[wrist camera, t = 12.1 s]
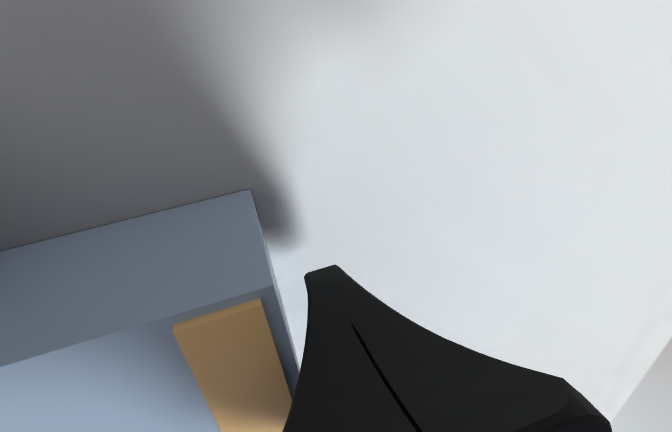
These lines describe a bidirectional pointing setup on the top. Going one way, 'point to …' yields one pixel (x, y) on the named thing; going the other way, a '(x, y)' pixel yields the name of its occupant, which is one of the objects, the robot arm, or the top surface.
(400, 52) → the top surface
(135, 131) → the top surface
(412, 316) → the top surface
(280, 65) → the top surface
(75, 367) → the module block
